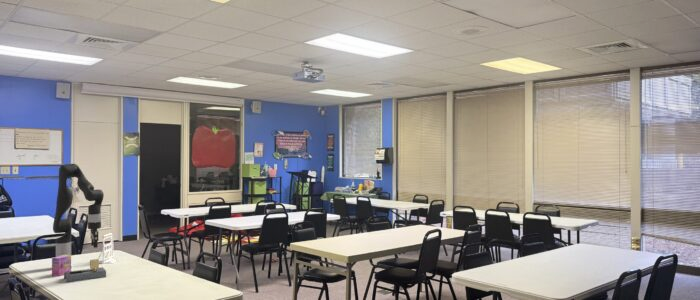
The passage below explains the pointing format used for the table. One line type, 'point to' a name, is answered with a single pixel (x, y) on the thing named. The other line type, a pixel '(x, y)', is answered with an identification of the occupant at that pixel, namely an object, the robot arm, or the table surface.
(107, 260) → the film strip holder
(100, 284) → the table surface
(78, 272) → the keyhole plate
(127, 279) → the table surface
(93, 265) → the brass peg
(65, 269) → the box
